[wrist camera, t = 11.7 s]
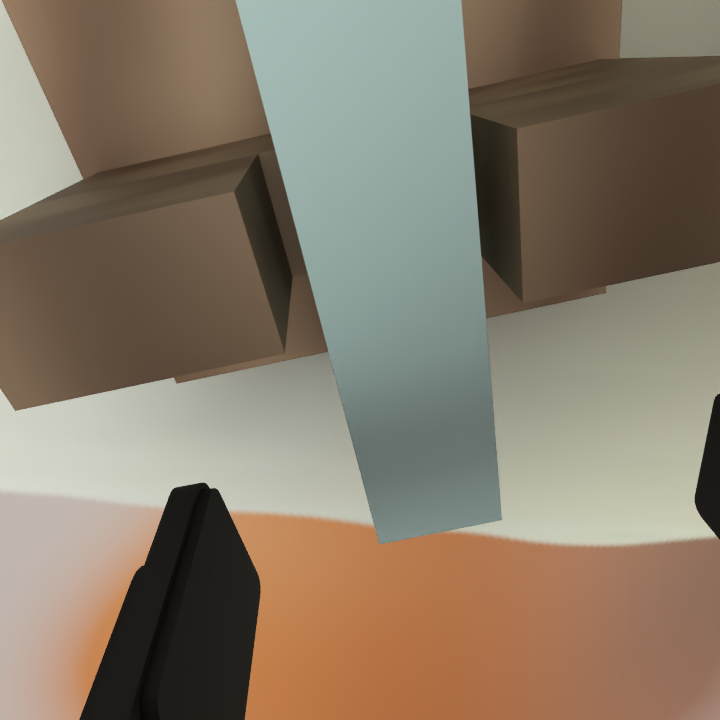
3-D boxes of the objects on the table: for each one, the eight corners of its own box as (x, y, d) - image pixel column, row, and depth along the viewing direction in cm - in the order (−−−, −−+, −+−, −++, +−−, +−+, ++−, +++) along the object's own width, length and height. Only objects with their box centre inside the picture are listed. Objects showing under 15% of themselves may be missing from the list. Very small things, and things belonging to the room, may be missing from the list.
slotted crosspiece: (362, -144, 12) (427, -424, 5) (434, 356, 19) (501, 520, 12) (240, -115, 12) (142, -351, 5) (355, 372, 19) (379, 544, 12)
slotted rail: (606, -141, 13) (1035, -444, 5) (590, 280, 19) (782, 429, 11) (21, -3, 14) (-372, -94, 6) (183, 366, 20) (96, 567, 12)
